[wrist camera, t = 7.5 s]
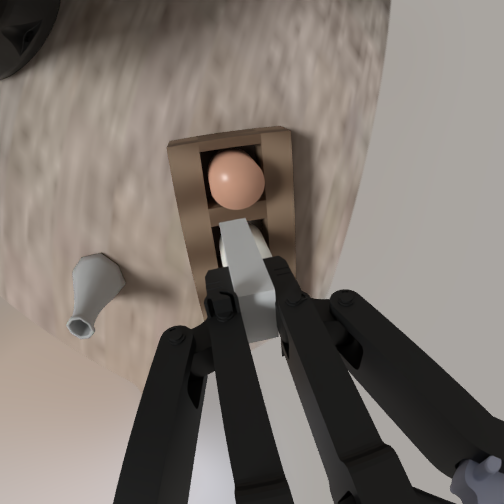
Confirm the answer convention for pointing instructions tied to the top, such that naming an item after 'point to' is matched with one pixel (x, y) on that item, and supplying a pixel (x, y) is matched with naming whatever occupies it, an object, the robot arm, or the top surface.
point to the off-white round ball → (258, 239)
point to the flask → (92, 292)
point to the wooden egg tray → (212, 213)
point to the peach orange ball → (235, 179)
